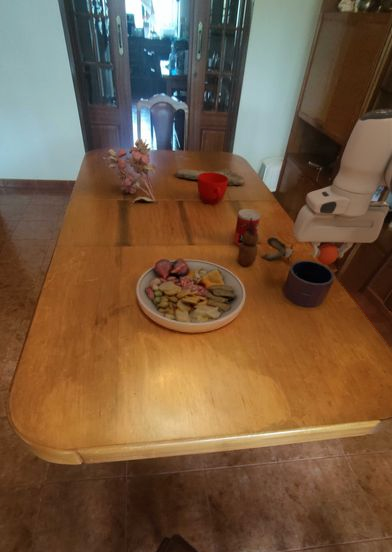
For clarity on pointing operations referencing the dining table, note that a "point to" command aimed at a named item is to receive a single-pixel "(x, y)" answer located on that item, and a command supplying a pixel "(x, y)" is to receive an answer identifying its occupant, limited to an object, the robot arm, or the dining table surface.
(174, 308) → the bowl
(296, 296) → the pot
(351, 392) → the dining table surface
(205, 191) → the ceramic cup
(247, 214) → the canned food
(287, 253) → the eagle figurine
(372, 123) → the robot arm
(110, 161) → the flower
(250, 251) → the wooden figurine
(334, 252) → the ball
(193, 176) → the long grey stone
